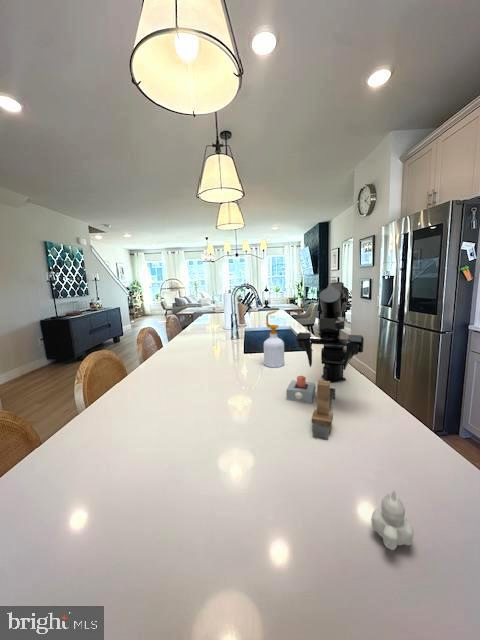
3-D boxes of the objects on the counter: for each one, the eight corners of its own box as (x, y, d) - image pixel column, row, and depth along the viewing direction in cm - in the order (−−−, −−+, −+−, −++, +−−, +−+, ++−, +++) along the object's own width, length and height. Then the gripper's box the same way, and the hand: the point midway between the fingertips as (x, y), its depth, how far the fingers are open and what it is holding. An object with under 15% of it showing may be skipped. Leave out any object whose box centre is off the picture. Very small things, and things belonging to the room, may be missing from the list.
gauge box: (292, 389, 94) (291, 380, 93) (315, 392, 90) (315, 382, 90) (286, 399, 86) (286, 389, 86) (311, 403, 83) (311, 392, 82)
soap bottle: (283, 368, 115) (283, 311, 111) (262, 367, 117) (261, 312, 113) (284, 361, 124) (283, 309, 120) (265, 361, 126) (263, 309, 122)
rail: (323, 396, 87) (323, 387, 87) (335, 398, 86) (335, 388, 85) (312, 436, 66) (312, 425, 66) (327, 439, 65) (328, 427, 64)
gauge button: (297, 385, 90) (297, 375, 89) (306, 386, 89) (306, 376, 88) (296, 389, 87) (296, 378, 87) (304, 390, 86) (304, 379, 86)
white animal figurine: (412, 531, 41) (416, 485, 40) (411, 570, 36) (415, 519, 35) (374, 515, 44) (376, 472, 43) (367, 549, 39) (369, 501, 38)
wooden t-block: (314, 417, 73) (314, 379, 71) (333, 420, 71) (333, 382, 69) (311, 427, 68) (311, 387, 66) (331, 431, 66) (332, 390, 64)
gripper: (297, 306, 81) (289, 351, 73) (364, 307, 74) (364, 357, 66) (302, 327, 90) (295, 369, 82) (363, 329, 82) (362, 376, 74)
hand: (326, 367), depth 76 cm, fingers open, 9 cm apart
